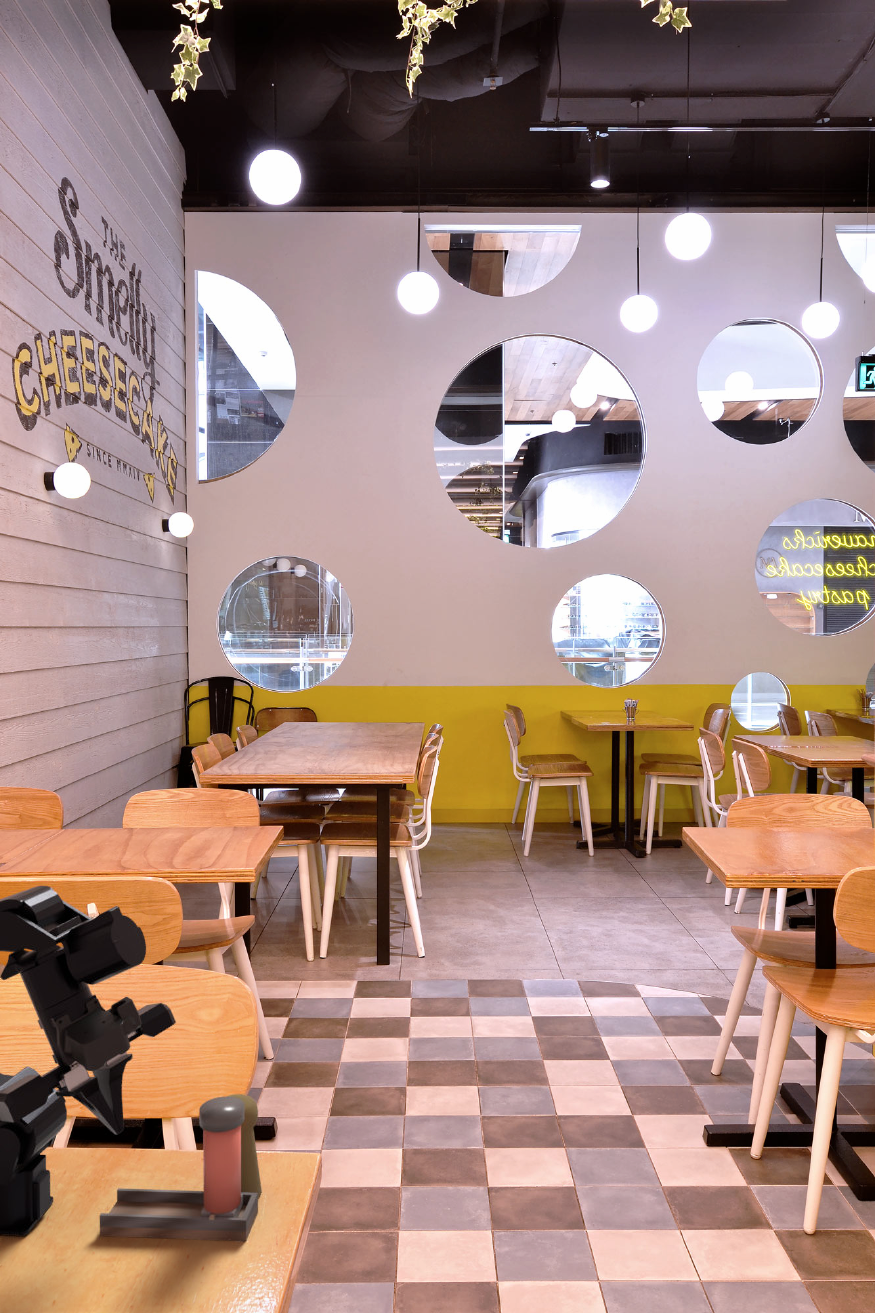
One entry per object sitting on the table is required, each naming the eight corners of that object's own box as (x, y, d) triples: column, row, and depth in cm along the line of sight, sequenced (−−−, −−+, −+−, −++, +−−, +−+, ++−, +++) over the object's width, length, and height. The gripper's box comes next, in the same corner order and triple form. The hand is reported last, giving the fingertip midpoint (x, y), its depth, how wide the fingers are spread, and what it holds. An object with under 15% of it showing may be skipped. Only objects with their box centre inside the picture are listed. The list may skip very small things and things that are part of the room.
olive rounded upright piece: (249, 1213, 103) (249, 1115, 103) (199, 1206, 105) (199, 1109, 104) (269, 1182, 109) (269, 1090, 109) (222, 1176, 110) (222, 1085, 110)
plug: (193, 1226, 99) (193, 1117, 99) (207, 1199, 104) (207, 1096, 104) (238, 1228, 99) (237, 1119, 98) (249, 1201, 103) (249, 1097, 103)
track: (99, 1236, 99) (99, 1214, 99) (118, 1207, 104) (118, 1186, 104) (245, 1241, 98) (245, 1219, 98) (258, 1212, 104) (258, 1190, 103)
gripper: (-4, 1044, 89) (59, 1196, 88) (166, 950, 102) (223, 1082, 101) (-32, 1047, 97) (27, 1186, 96) (129, 960, 110) (182, 1082, 109)
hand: (119, 1132), depth 100 cm, fingers closed
